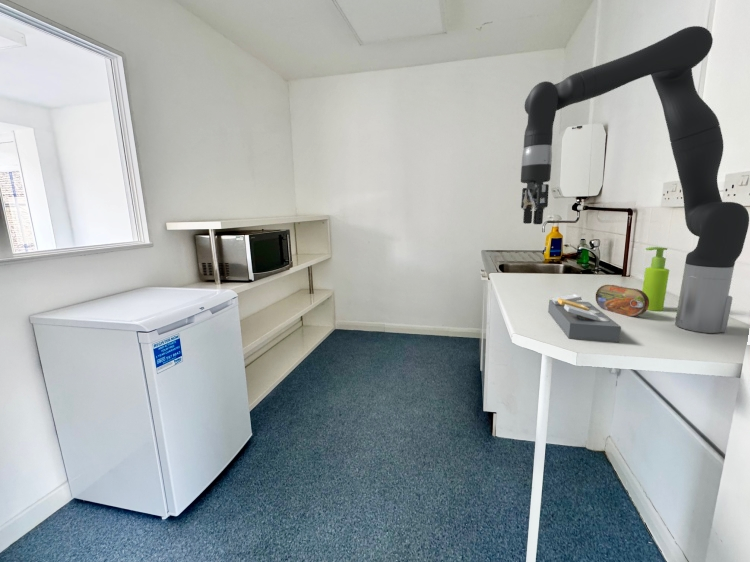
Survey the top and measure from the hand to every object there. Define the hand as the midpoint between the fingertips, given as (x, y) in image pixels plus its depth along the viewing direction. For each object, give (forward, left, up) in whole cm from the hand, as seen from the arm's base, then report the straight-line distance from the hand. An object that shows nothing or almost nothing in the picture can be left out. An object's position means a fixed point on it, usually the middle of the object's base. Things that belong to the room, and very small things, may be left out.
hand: (532, 223), depth 98 cm
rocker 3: (-11, +11, -22) cm, 27 cm away
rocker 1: (-11, -3, -22) cm, 25 cm away
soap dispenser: (-40, -20, -28) cm, 53 cm away
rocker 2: (-11, +4, -22) cm, 25 cm away
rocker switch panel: (-13, +4, -28) cm, 31 cm away
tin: (-29, -13, -28) cm, 43 cm away
